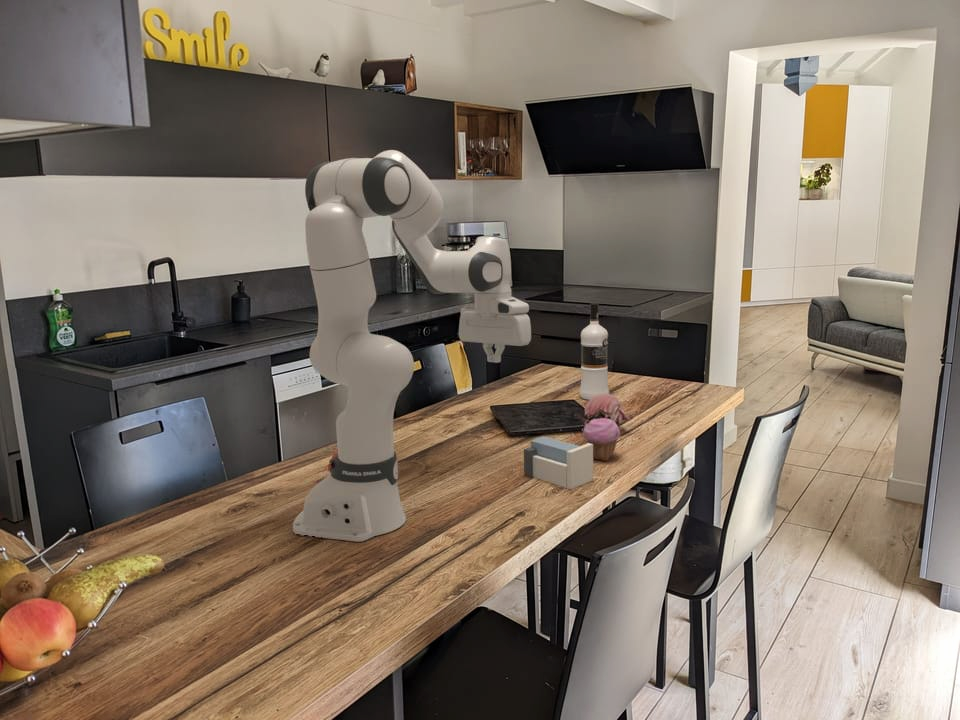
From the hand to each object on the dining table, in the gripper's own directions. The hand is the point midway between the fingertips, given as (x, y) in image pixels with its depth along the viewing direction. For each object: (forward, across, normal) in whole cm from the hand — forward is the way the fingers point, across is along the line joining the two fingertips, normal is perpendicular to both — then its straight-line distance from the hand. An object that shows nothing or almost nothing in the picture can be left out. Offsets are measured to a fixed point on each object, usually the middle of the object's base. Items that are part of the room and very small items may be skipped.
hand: (494, 362), depth 189 cm
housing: (+25, +19, 0) cm, 32 cm away
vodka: (+20, -13, +64) cm, 68 cm away
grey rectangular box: (+25, +18, 0) cm, 31 cm away
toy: (+23, +10, +35) cm, 43 cm away
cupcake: (+24, +20, +17) cm, 36 cm away
